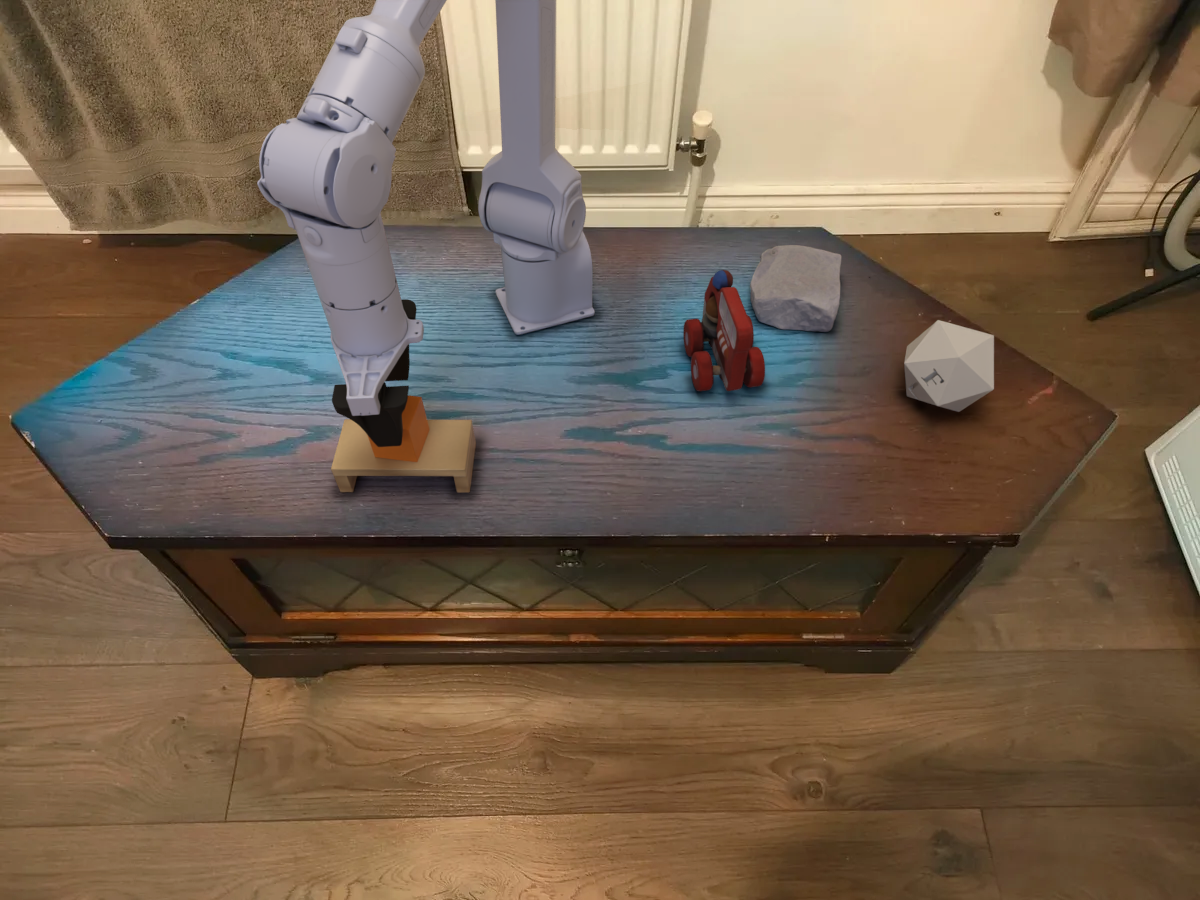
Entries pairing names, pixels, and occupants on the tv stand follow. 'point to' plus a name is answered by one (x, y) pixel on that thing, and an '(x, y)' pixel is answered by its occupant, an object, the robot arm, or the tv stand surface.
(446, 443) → the shelf
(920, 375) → the die
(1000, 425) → the tv stand surface
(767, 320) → the stone block
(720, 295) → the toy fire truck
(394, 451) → the orange cube
